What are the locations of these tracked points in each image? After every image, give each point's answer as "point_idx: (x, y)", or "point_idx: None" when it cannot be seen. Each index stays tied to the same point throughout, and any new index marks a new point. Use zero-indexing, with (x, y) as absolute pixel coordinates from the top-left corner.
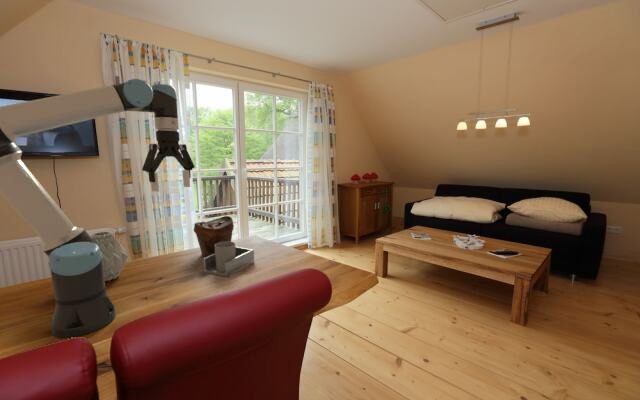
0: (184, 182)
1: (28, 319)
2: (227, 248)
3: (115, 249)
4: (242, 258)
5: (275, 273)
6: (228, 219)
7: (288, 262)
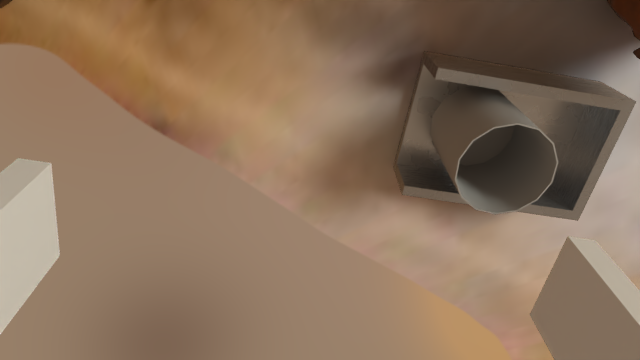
0: (591, 299)
1: None
2: (464, 199)
3: None
4: None
5: (452, 293)
6: None
7: None
